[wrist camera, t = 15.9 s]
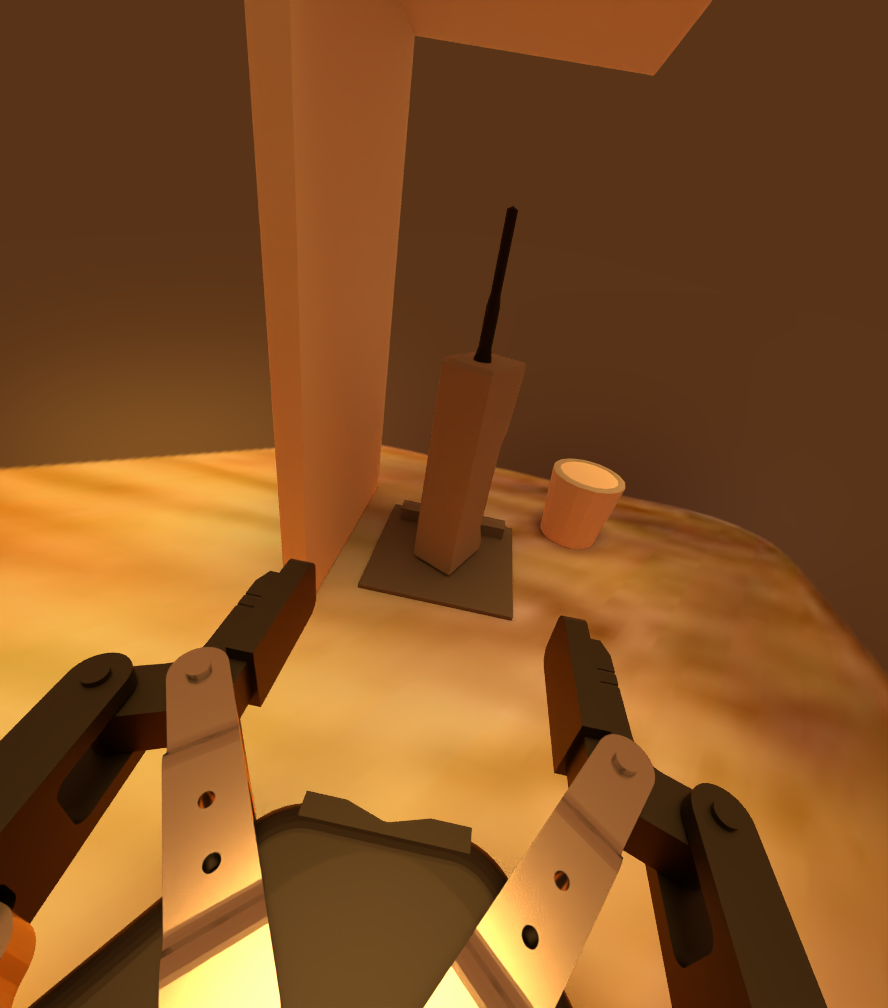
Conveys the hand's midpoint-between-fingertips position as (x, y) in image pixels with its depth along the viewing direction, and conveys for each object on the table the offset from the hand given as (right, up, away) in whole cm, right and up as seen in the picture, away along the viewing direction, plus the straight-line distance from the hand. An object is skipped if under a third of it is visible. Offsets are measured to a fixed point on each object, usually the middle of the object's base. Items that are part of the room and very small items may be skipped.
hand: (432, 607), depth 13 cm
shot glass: (+13, 0, +29) cm, 32 cm away
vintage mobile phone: (+1, -1, +23) cm, 23 cm away
